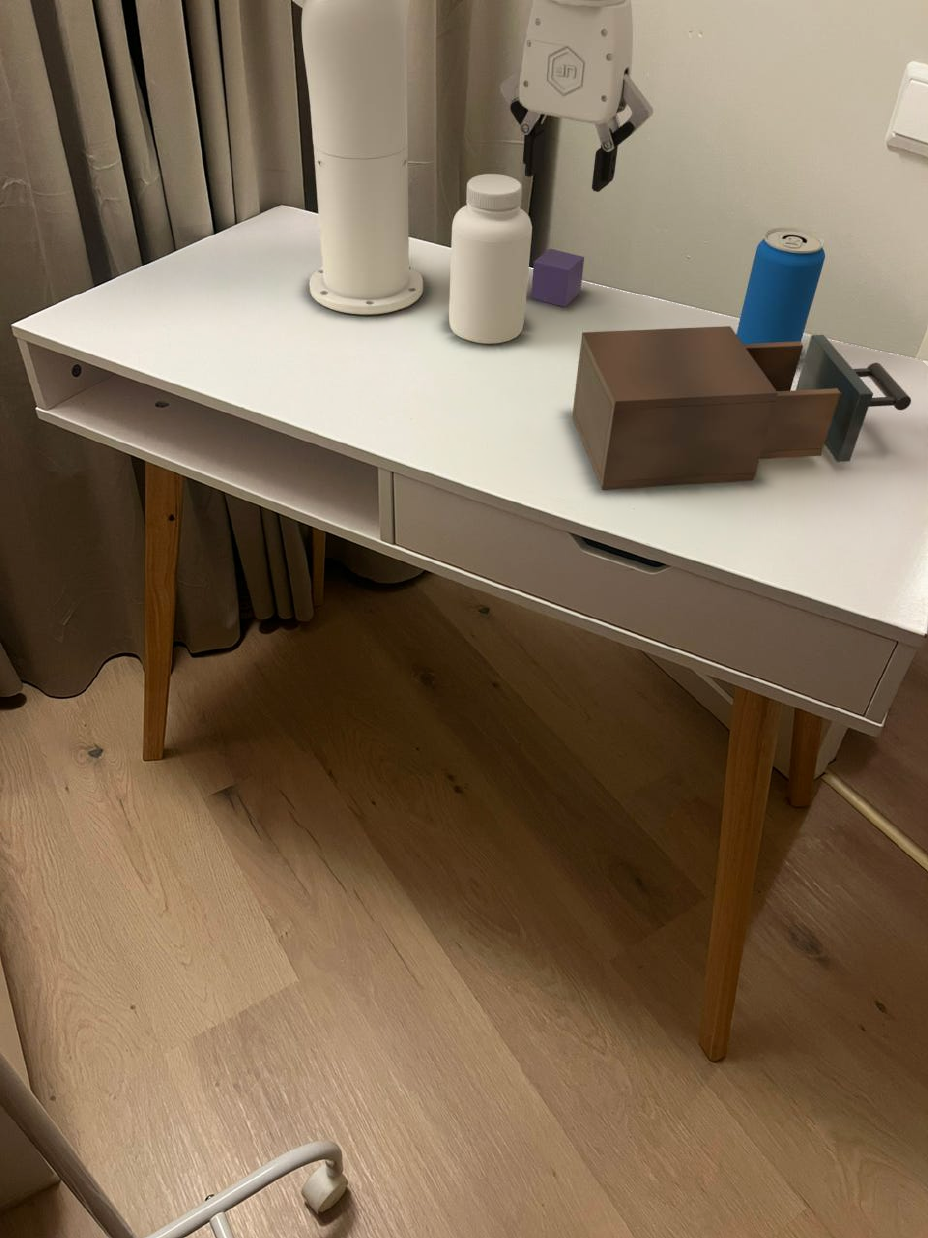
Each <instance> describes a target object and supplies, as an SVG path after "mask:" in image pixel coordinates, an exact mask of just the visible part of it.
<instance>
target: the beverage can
mask: <svg viewBox="0 0 928 1238" xmlns="http://www.w3.org/2000/svg"><path fill="white" fill-rule="evenodd" d="M824 246H825V241H824V239H823V237H821V236H820V235H818V234H817V233H815V232H812V231H810V230H808V229H804V228H798V227H789V226H787V227H786V226H785V227H784V226H782V227H774V228H771V229H769V230H767V231H766V232H765V233H764V235H763V239H762V240H761V241H760V242H759V243H758V244H757V246H756V249H755V254H754V258H753V261H752V267H751V271H750V274H749V279H748V282H747V288H746V291H745V295H744V300H743V304H742V309H741V312H740V317H739V322H738V326H737V330H736V333H735V334H736V335H737V337H738V338H739V339H740V341H741V342H742V344H754V343H776V342H799V341H800V342H801V343H802V340H803V337H804V334H805V330H806V326H807V322H808V319H809V315H810V312H811V309H812V305H813V301H814V299H815V294H816V292H817V289H818V288H817V287H818V284H819V280H820V277H821V274H822V269H823V266H824V262H825V260H826V252H825V250H824V248H823V247H824Z"/></svg>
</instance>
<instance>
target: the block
mask: <svg viewBox="0 0 928 1238" xmlns="http://www.w3.org/2000/svg"><path fill="white" fill-rule="evenodd" d="M584 262H585V256H582V255H578V254H573V253H570V252H565V251H562V250H558V249H553V248H549V249H548V250H546V251H545V252H544V253H543V254H541V255H540V256H539V257H538V258H537V259H535V260H534V261H533V267H532V268H533V269H532V281H531V294H530V295H531V296H530V299H533V300H537V301H540V302H545V303H548V304H552V305H554V306H555V305H556V306H560V307H563V308H566V307H567V306H568V305H569V304H571V302H572V301H573V300H574V299H576V297H578V295H580V294H581V288H582V280H583V274H584V273H583V272H584Z"/></svg>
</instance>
